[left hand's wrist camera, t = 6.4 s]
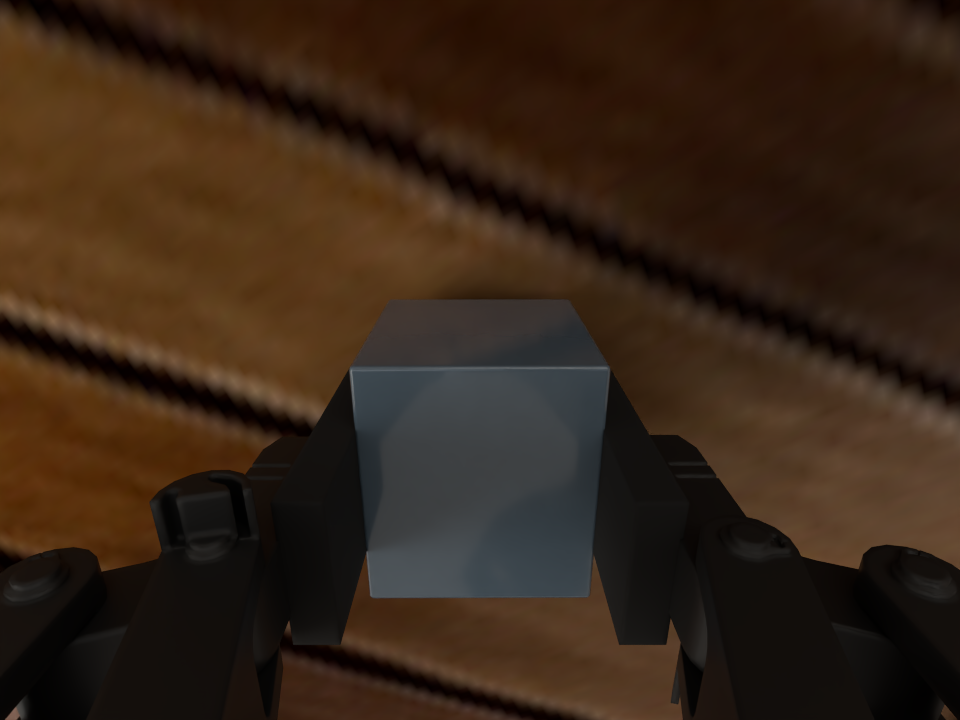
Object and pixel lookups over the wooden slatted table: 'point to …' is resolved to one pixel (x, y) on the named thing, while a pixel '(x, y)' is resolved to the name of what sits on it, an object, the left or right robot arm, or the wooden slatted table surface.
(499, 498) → the block
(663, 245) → the wooden slatted table surface
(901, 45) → the wooden slatted table surface
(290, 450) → the left robot arm
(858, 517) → the wooden slatted table surface
